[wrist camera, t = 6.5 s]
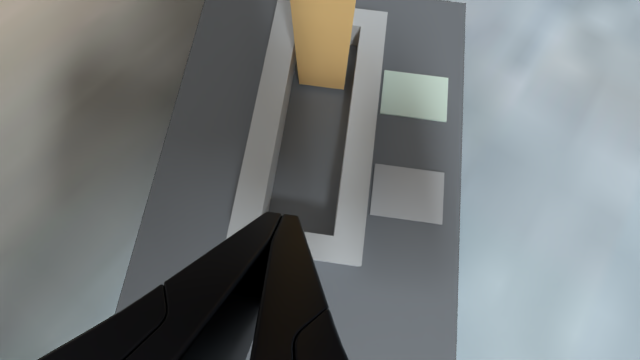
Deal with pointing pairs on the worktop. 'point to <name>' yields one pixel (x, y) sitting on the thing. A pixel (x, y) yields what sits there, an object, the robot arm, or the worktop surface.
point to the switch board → (324, 165)
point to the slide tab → (322, 40)
